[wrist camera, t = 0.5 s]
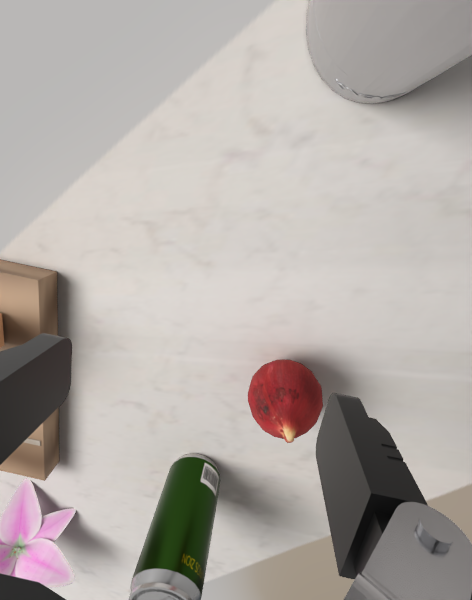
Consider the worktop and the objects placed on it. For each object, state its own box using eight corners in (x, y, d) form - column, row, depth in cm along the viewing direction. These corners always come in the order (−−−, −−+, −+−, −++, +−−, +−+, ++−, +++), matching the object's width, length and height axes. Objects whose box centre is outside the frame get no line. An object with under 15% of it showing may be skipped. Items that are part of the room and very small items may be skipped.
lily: (107, 538, 42) (79, 595, 33) (17, 594, 40) (-40, 672, 31) (63, 453, 43) (24, 484, 33) (-27, 504, 41) (-96, 554, 32)
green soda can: (192, 442, 34) (153, 573, 23) (232, 471, 35) (213, 612, 23) (161, 470, 36) (111, 604, 24) (200, 497, 36) (168, 639, 25)
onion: (238, 376, 31) (228, 440, 23) (276, 330, 29) (278, 385, 21) (288, 409, 31) (294, 482, 24) (329, 367, 29) (349, 432, 22)
